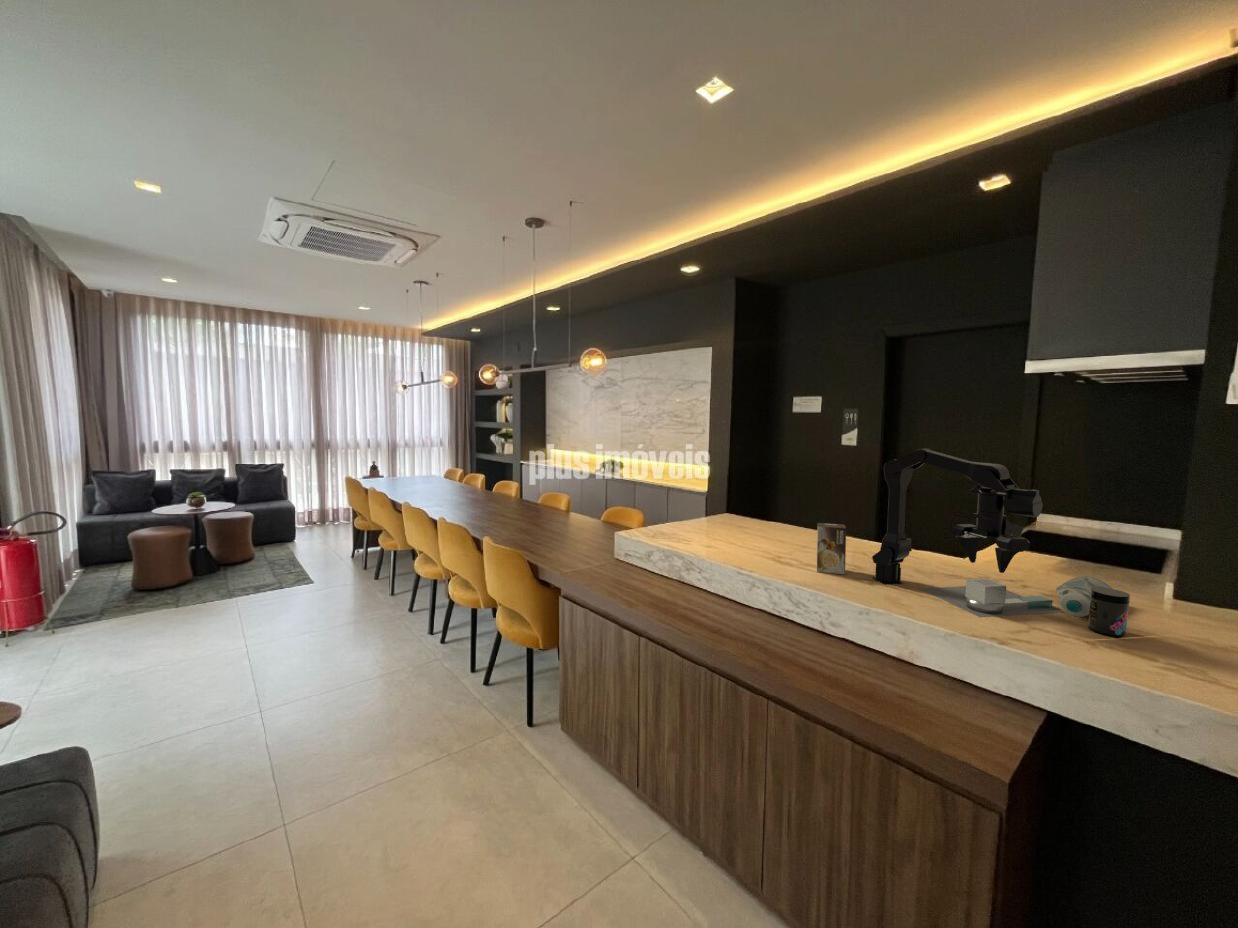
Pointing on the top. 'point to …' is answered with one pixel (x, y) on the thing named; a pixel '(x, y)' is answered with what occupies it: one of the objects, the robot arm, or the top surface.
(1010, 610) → the tool mat
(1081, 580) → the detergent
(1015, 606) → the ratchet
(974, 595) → the grey block
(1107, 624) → the supplement container
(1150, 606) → the top surface
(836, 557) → the coffee box
